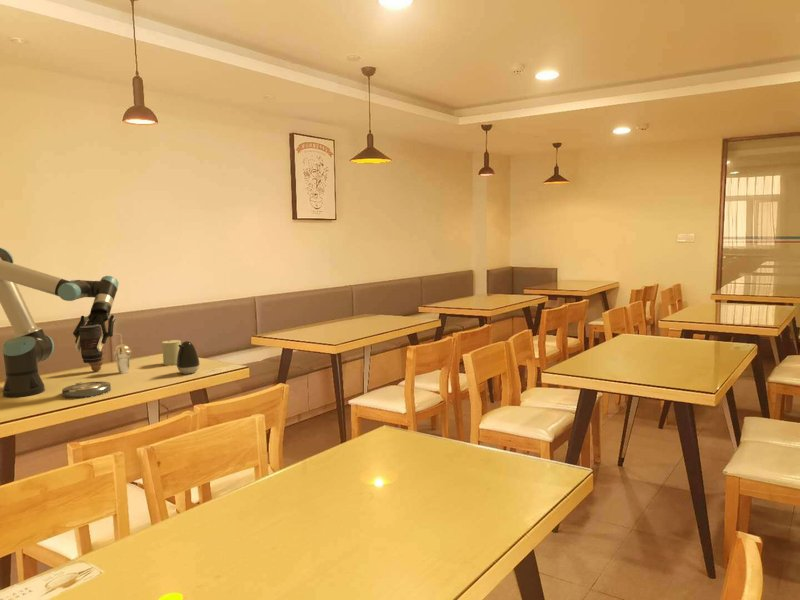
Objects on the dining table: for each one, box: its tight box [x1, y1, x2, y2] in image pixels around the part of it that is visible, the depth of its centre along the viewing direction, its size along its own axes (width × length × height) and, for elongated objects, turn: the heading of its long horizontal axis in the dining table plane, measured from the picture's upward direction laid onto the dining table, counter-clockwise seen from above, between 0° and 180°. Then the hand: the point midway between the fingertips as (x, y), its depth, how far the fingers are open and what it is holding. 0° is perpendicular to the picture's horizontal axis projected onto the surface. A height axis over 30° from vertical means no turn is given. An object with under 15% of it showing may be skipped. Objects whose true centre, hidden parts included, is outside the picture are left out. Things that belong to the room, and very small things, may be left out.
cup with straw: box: [112, 332, 133, 374], centre depth 285 cm, size 8×9×20 cm
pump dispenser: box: [176, 340, 200, 375], centre depth 280 cm, size 10×10×15 cm
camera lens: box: [79, 325, 103, 364], centre depth 248 cm, size 8×8×15 cm
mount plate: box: [61, 381, 112, 399], centre depth 249 cm, size 18×18×3 cm
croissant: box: [88, 344, 106, 372], centre depth 289 cm, size 9×8×18 cm
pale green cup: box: [161, 339, 182, 366], centre depth 303 cm, size 9×9×12 cm
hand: (87, 349), depth 245 cm, fingers closed on camera lens, 8 cm apart
